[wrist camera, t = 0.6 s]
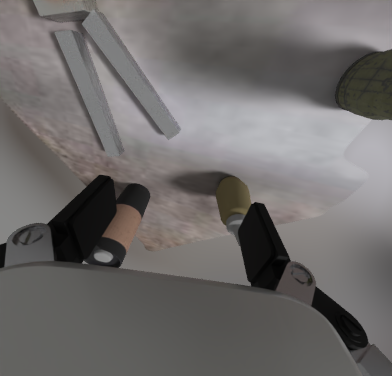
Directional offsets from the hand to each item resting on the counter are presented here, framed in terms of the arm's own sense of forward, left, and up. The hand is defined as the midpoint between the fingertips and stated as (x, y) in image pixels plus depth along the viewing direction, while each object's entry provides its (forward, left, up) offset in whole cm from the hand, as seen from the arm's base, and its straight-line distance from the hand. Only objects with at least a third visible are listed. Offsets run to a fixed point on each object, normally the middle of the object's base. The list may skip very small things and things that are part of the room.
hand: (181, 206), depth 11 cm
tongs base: (-7, -18, -27) cm, 33 cm away
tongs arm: (-6, -10, -27) cm, 30 cm away
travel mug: (+20, -19, -27) cm, 39 cm away
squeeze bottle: (+18, +7, -27) cm, 33 cm away
